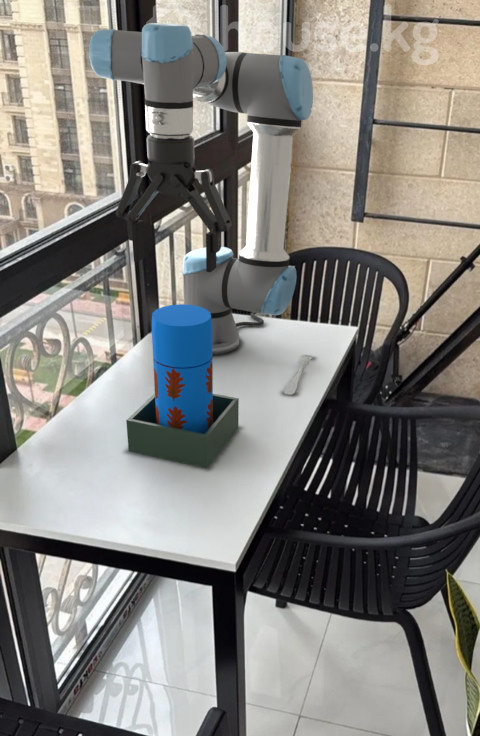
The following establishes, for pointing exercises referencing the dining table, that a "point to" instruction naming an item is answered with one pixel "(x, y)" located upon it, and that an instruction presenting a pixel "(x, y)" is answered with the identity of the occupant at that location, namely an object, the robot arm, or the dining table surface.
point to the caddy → (182, 434)
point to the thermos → (183, 367)
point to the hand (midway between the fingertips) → (175, 264)
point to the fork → (297, 375)
